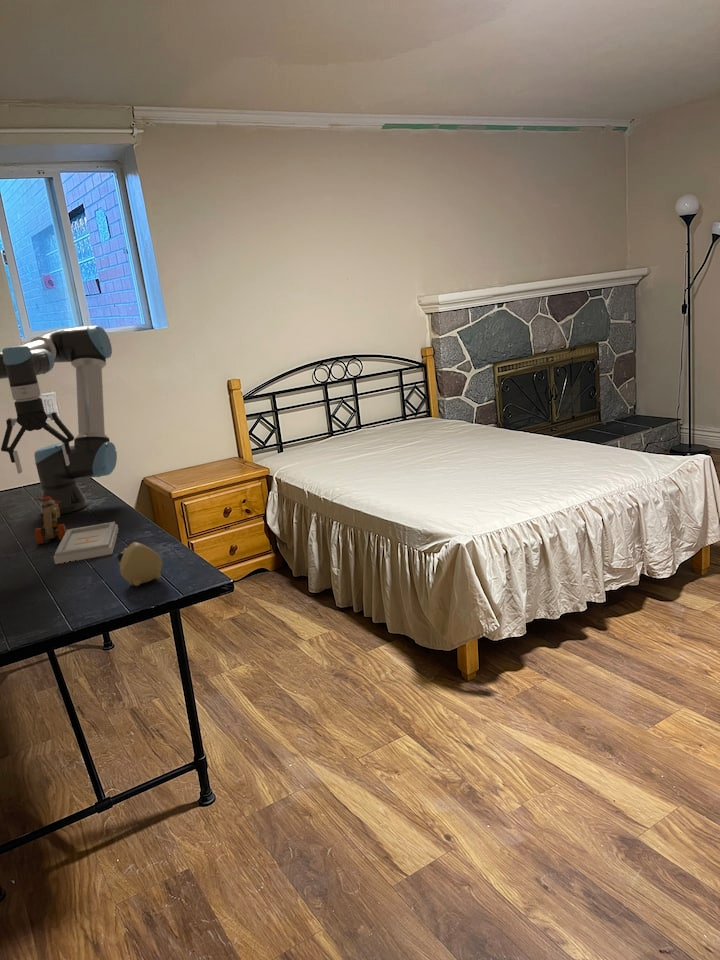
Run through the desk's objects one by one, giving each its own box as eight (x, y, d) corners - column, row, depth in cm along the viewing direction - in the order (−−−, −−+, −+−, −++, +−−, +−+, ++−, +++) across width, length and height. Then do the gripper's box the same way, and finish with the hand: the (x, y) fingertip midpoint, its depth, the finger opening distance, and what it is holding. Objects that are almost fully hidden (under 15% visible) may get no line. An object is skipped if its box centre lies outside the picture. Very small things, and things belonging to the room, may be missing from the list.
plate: (67, 539, 213) (65, 529, 212) (118, 530, 216) (116, 521, 215) (55, 564, 191) (52, 554, 190) (112, 553, 194) (110, 543, 193)
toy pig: (154, 570, 178) (147, 530, 175) (171, 583, 168) (163, 541, 165) (116, 582, 172) (107, 541, 170) (130, 596, 163) (121, 553, 160)
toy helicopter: (36, 547, 208) (26, 503, 205) (46, 528, 227) (36, 487, 224) (66, 542, 210) (56, 498, 207) (72, 523, 229) (63, 483, 226)
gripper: (-22, 407, 199) (-3, 478, 205) (70, 394, 205) (86, 464, 211) (-16, 403, 206) (2, 473, 212) (73, 391, 212) (88, 459, 218)
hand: (44, 468), depth 212 cm, fingers open, 13 cm apart
